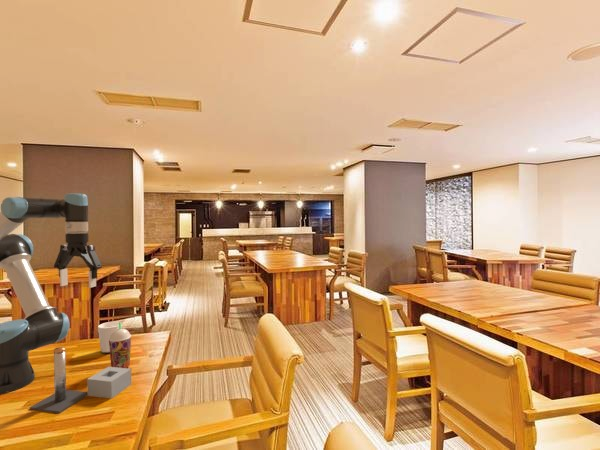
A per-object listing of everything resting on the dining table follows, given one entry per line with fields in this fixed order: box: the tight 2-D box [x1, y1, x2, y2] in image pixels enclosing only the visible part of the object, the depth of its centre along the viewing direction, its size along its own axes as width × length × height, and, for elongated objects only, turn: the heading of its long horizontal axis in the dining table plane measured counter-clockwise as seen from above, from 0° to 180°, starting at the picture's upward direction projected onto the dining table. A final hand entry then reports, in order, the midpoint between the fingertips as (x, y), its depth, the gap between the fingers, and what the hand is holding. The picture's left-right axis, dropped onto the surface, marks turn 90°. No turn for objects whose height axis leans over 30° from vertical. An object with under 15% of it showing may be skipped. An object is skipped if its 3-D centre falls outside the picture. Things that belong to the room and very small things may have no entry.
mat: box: [29, 389, 88, 414], centre depth 115 cm, size 12×12×1 cm
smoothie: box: [109, 321, 132, 369], centre depth 139 cm, size 8×8×20 cm
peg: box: [53, 346, 67, 402], centre depth 115 cm, size 3×3×18 cm
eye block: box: [86, 366, 132, 399], centre depth 123 cm, size 10×10×6 cm
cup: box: [97, 320, 123, 355], centre depth 158 cm, size 10×10×13 cm
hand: (78, 286), depth 131 cm, fingers open, 13 cm apart
